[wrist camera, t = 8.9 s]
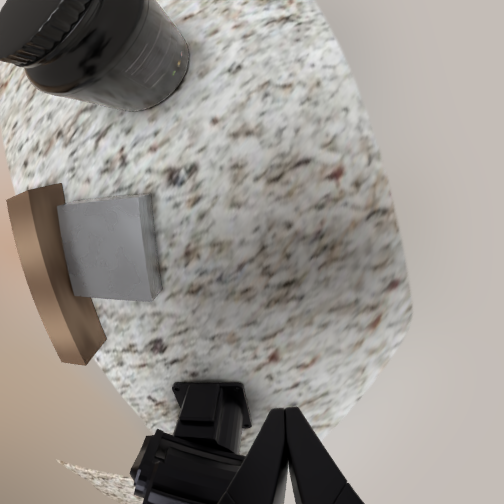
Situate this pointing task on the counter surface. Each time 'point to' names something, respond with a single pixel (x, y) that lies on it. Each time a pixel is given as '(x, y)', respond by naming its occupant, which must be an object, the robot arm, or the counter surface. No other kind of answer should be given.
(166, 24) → the supplement bottle
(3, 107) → the counter surface
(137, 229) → the grey metal plate
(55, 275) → the curved brown bar
